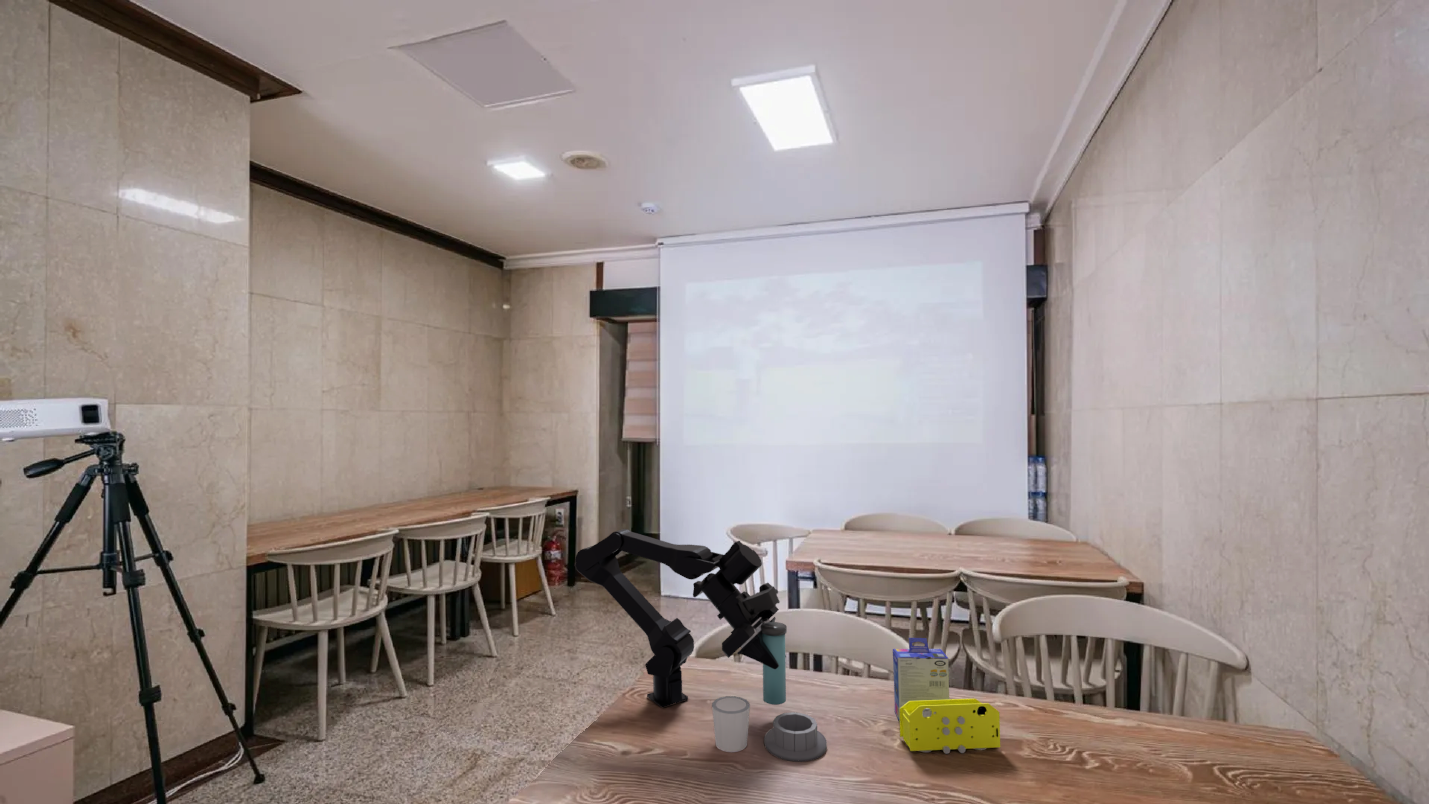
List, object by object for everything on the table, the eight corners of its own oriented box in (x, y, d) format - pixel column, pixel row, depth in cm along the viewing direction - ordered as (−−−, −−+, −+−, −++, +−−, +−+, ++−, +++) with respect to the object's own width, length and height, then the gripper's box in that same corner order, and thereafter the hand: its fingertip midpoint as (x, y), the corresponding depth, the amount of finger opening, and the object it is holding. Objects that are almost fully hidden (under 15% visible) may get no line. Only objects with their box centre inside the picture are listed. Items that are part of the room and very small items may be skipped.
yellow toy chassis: (911, 757, 103) (910, 707, 104) (899, 740, 109) (898, 693, 109) (1001, 753, 104) (1000, 704, 105) (985, 736, 110) (984, 690, 110)
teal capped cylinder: (756, 698, 117) (755, 625, 118) (775, 691, 120) (774, 620, 121) (773, 708, 113) (772, 632, 114) (792, 700, 116) (791, 627, 116)
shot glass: (747, 756, 104) (747, 714, 104) (708, 751, 105) (708, 711, 105) (752, 735, 111) (752, 697, 111) (716, 732, 112) (716, 693, 112)
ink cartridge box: (943, 710, 120) (941, 636, 120) (952, 723, 114) (950, 646, 115) (892, 708, 121) (891, 635, 121) (899, 722, 115) (897, 645, 116)
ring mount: (751, 741, 109) (751, 719, 109) (796, 722, 115) (796, 702, 115) (794, 769, 100) (793, 745, 100) (839, 747, 106) (839, 725, 106)
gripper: (736, 584, 110) (796, 654, 106) (768, 563, 128) (820, 622, 123) (698, 623, 113) (754, 692, 108) (734, 596, 130) (784, 655, 126)
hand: (780, 663), depth 116 cm, fingers closed on teal capped cylinder, 4 cm apart
